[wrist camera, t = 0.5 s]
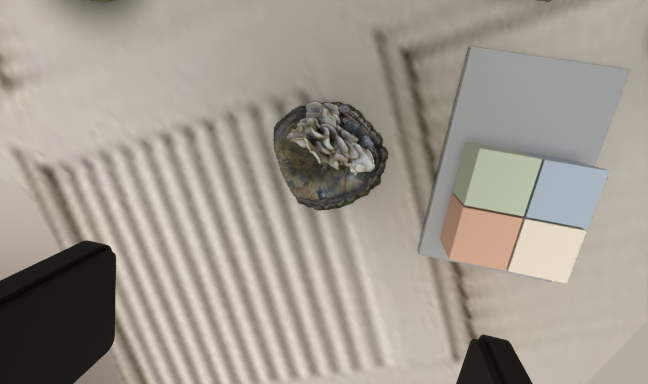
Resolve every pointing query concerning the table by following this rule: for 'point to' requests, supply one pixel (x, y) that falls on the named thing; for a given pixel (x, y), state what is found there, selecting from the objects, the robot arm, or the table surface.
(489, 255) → the terracotta block
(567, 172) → the blue block
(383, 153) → the grey oval shell
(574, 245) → the cream block
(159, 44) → the table surface
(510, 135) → the assembly board
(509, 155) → the sage block
